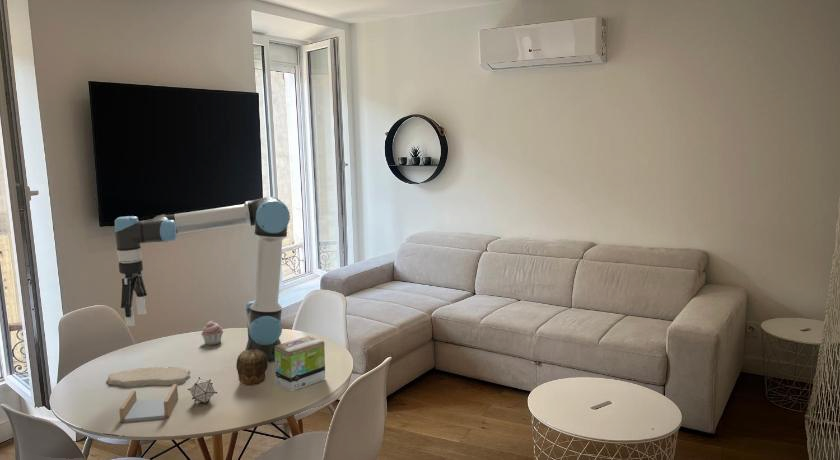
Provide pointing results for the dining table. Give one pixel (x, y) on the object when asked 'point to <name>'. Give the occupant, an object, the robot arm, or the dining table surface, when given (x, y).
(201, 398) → the game die
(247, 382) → the woven dome ornament
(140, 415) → the track
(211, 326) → the cupcake
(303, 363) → the tea box
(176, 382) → the stone tablet
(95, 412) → the dining table surface
